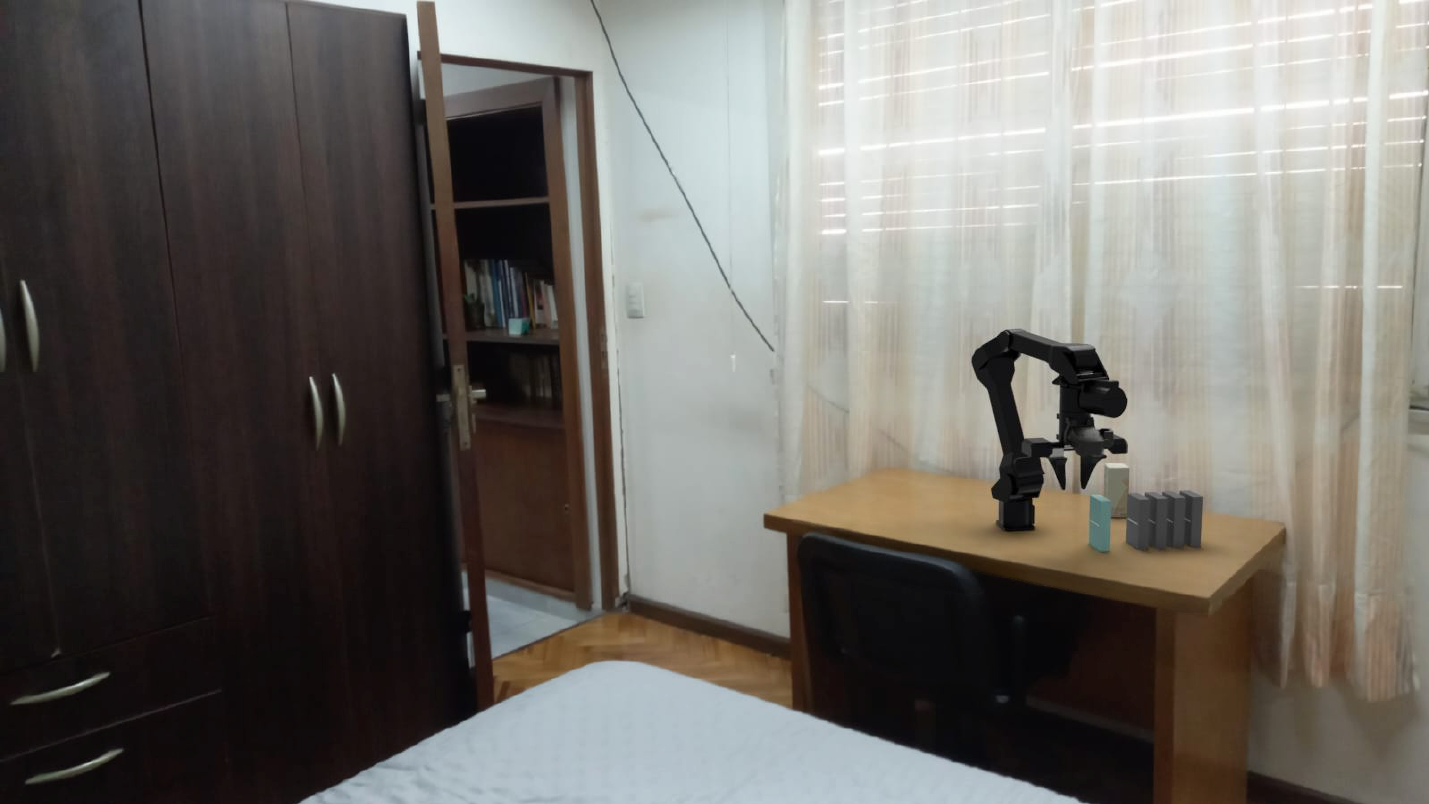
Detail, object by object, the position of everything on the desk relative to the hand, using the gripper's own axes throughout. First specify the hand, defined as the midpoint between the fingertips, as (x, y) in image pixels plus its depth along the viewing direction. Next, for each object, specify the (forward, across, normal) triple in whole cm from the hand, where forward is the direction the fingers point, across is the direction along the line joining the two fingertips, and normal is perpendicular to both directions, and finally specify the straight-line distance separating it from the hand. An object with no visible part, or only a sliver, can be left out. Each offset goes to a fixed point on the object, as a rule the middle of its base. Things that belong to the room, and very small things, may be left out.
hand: (1073, 489), depth 185 cm
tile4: (+12, +20, 0) cm, 23 cm away
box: (+12, +18, +21) cm, 31 cm away
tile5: (+12, +24, 0) cm, 26 cm away
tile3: (+12, +16, 0) cm, 20 cm away
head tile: (+12, +6, 0) cm, 13 cm away
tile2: (+12, +13, 0) cm, 18 cm away
